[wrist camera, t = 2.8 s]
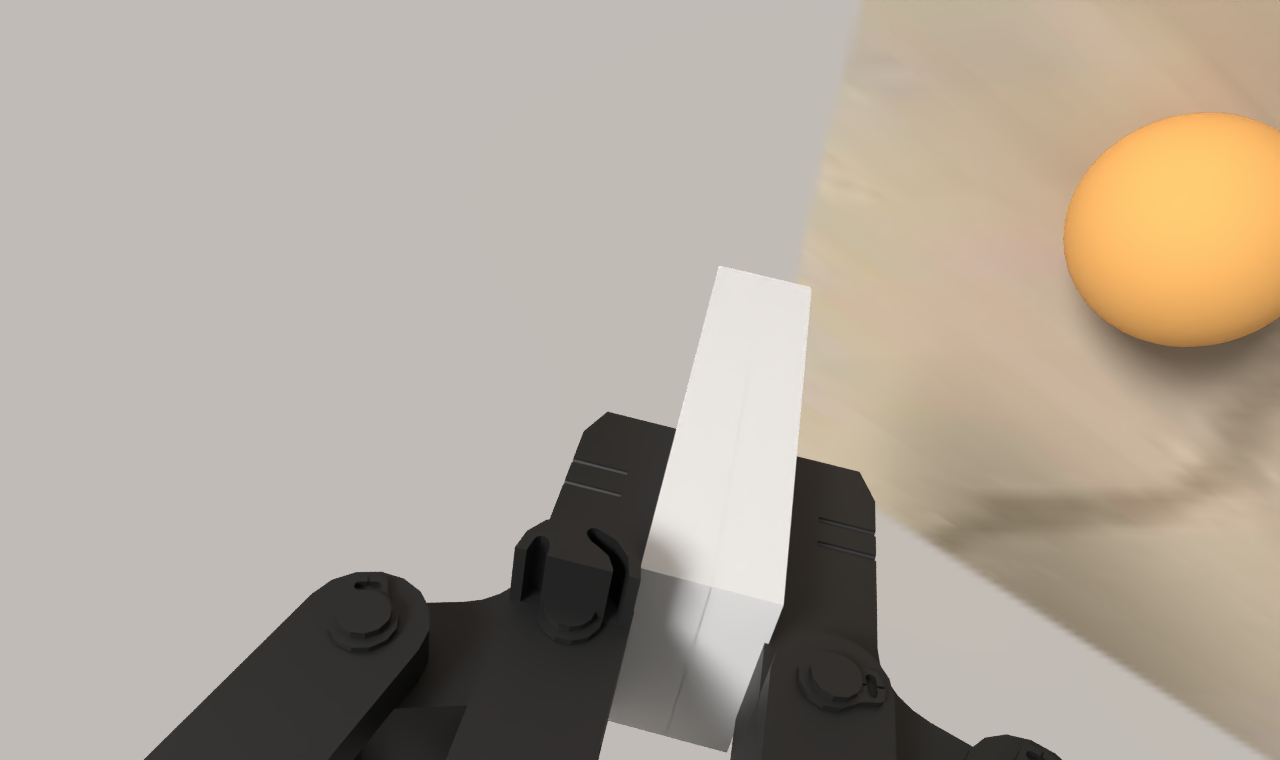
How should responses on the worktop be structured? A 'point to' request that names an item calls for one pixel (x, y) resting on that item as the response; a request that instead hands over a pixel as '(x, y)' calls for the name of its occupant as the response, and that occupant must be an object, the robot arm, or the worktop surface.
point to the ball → (1181, 231)
